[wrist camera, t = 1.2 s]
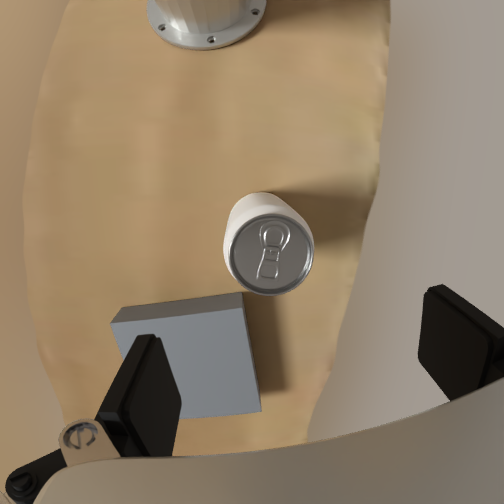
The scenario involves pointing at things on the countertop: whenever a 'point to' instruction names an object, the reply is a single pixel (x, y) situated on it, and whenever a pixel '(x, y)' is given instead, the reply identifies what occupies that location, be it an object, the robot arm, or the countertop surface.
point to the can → (267, 245)
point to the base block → (200, 351)
